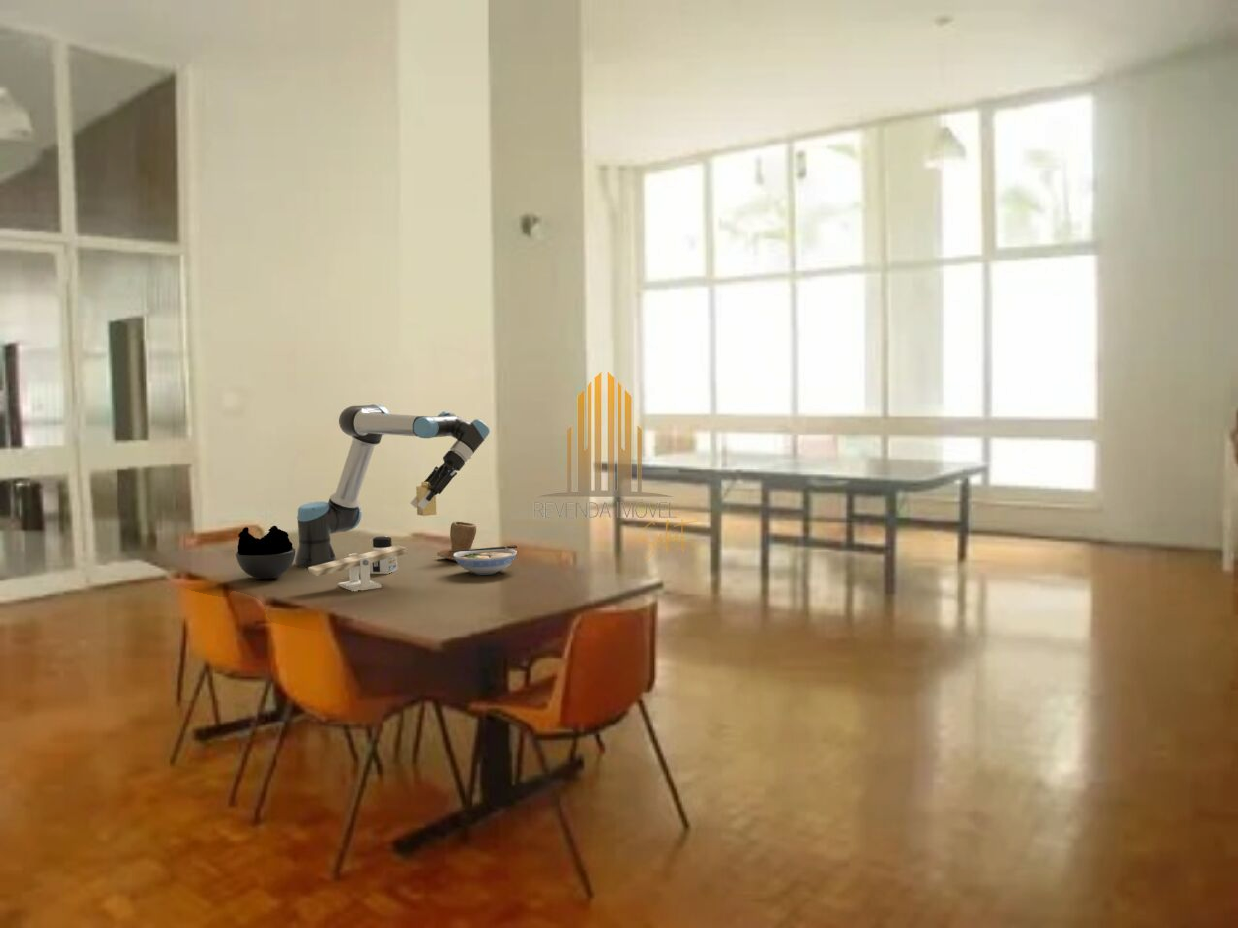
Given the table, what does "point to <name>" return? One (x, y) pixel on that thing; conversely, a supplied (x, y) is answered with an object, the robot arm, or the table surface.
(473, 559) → the ramen bowl
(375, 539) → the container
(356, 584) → the beam stand
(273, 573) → the coal bowl
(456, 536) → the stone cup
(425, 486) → the brass weight
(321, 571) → the balance beam
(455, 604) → the table surface
